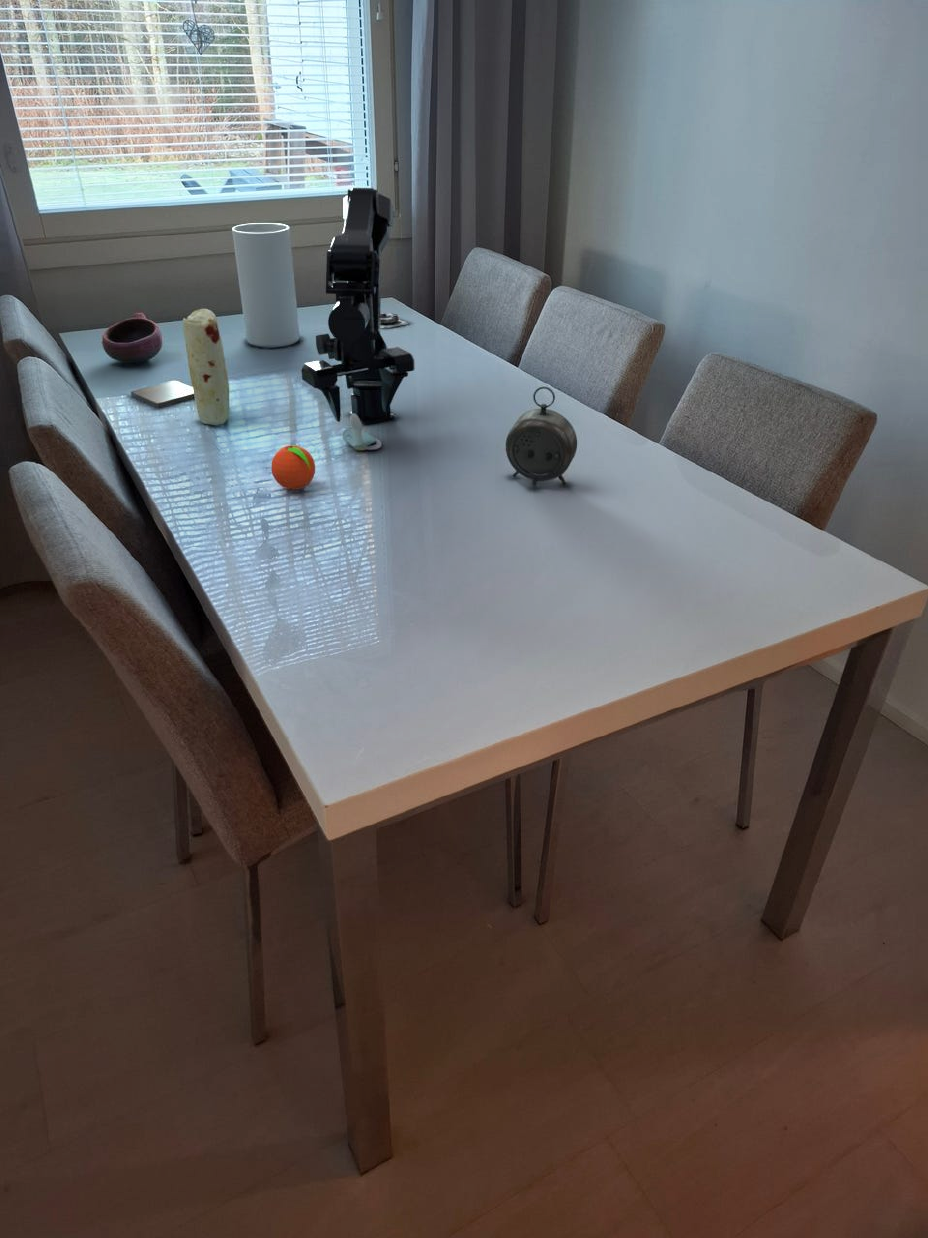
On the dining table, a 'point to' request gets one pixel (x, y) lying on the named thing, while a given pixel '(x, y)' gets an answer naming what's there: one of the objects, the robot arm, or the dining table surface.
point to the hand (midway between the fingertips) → (361, 415)
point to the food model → (207, 366)
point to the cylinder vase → (266, 284)
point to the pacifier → (359, 436)
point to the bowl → (133, 340)
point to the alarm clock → (541, 444)
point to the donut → (390, 320)
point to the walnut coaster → (164, 394)
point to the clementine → (293, 467)
